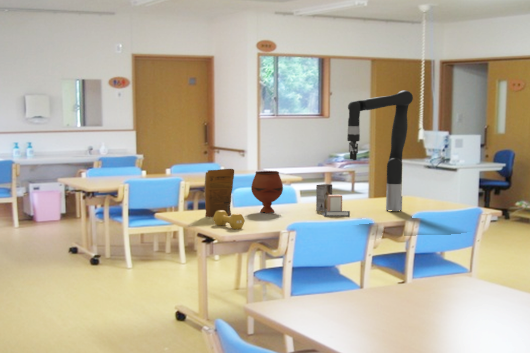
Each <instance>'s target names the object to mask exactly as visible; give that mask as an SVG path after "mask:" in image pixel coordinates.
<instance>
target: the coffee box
mask: <svg viewBox="0 0 530 353" xmlns="http://www.w3.org/2000/svg"><path fill="white" fill-rule="evenodd" d="M315 194H316V195H315V196H316V198H315V202H316V205H315V209H316V210H315V211H321V212H325V211H327V202H328V195H333V184H330V183H323V184H322V183H321V184H316V193H315Z"/></svg>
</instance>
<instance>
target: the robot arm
mask: <svg viewBox="0 0 530 353" xmlns="http://www.w3.org/2000/svg"><path fill="white" fill-rule="evenodd" d="M413 100H414V96H413V94H412V93H411V92H410V91H409V90H404V89H403V90H400V91H398V93H396V94H391V95H385V96H377V97H376V96H375V97H370V98H365V99H359V100H353V101H350V102H349V103H348V105H347V108H348V118H347V120H348V121H347V139H346V141H348V152H349V159H350V160H353V161H357V155H358V153H359V143H357V142H360V140H361V139H360V137H361V136H360V134H361V130H360V129H361V128H360V122H361V121H360V116H361V112H363V111H371V110H378V109H381V108H386V107H387V108H388V107H390V106H391V107H392V106H395V113H394V117H393V123H392V128H391V135H390V137H391V139H390V153H389V156H388V157H389V158H388V161H387V165H386V198H385V211H386V210H392V211H399V210H402V211H403V196H402V186H403V185H402V182H403V180H402V179H403V151H404V148H405V144H406V140H407V135H408V134H407V133H408V127H409V126H408V110H409V106H410V105H411V103H412V102H413ZM399 212H400V211H399Z"/></svg>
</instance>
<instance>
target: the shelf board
mask: <svg viewBox="0 0 530 353" xmlns="http://www.w3.org/2000/svg"><path fill="white" fill-rule="evenodd" d="M350 214H351V211H350V210H342V211H321V215H322V216H323V217H350Z"/></svg>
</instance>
